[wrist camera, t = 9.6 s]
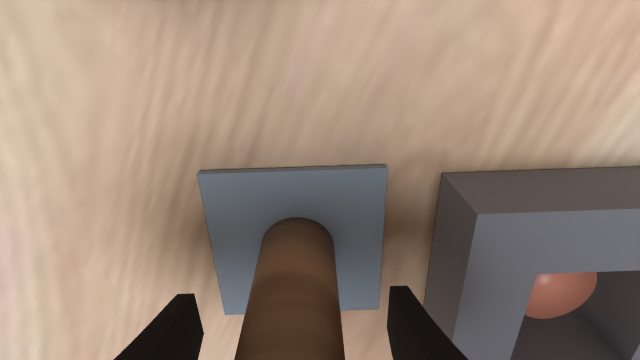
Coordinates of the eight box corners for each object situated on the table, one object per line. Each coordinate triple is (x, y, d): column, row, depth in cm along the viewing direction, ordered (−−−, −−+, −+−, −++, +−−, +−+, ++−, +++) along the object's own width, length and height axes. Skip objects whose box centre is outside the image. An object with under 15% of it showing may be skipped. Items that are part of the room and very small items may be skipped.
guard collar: (606, 339, 20) (663, 401, 16) (417, 347, 19) (438, 410, 16) (689, 164, 15) (792, 203, 12) (442, 172, 15) (477, 214, 12)
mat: (377, 303, 18) (378, 308, 18) (226, 309, 18) (224, 314, 17) (385, 164, 14) (387, 168, 14) (199, 170, 14) (196, 174, 14)
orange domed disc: (566, 299, 18) (582, 317, 17) (494, 301, 18) (506, 320, 17) (588, 239, 16) (608, 254, 15) (509, 242, 16) (524, 258, 15)
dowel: (332, 277, 17) (345, 454, 10) (262, 276, 16) (228, 454, 10) (336, 217, 15) (354, 376, 8) (259, 216, 15) (216, 376, 8)
